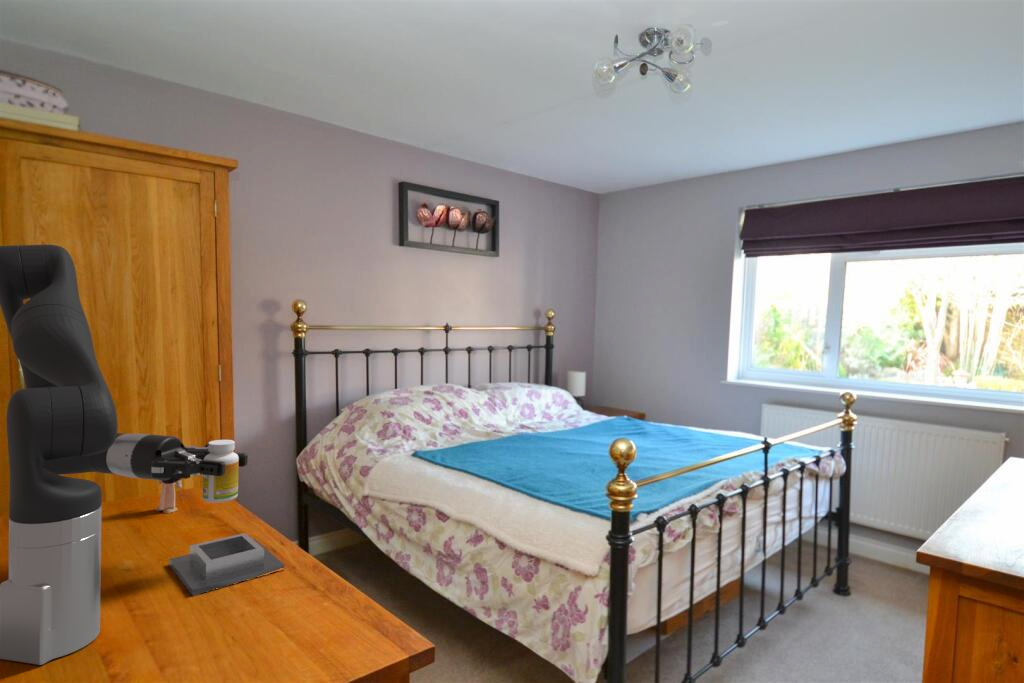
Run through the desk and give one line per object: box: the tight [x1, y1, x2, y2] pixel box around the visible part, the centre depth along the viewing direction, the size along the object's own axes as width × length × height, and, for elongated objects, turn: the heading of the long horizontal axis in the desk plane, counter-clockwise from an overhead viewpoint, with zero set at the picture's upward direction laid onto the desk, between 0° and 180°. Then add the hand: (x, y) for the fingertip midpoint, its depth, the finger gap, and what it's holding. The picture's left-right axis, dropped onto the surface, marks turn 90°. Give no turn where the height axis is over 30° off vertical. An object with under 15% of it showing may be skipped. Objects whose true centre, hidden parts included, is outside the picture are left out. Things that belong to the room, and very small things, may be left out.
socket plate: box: [168, 532, 285, 597], centre depth 95 cm, size 14×14×4 cm
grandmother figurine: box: [155, 478, 183, 514], centre depth 120 cm, size 8×4×13 cm, turn 73°
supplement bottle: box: [202, 439, 240, 504], centre depth 95 cm, size 5×5×10 cm
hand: (235, 464), depth 94 cm, fingers closed on supplement bottle, 5 cm apart
